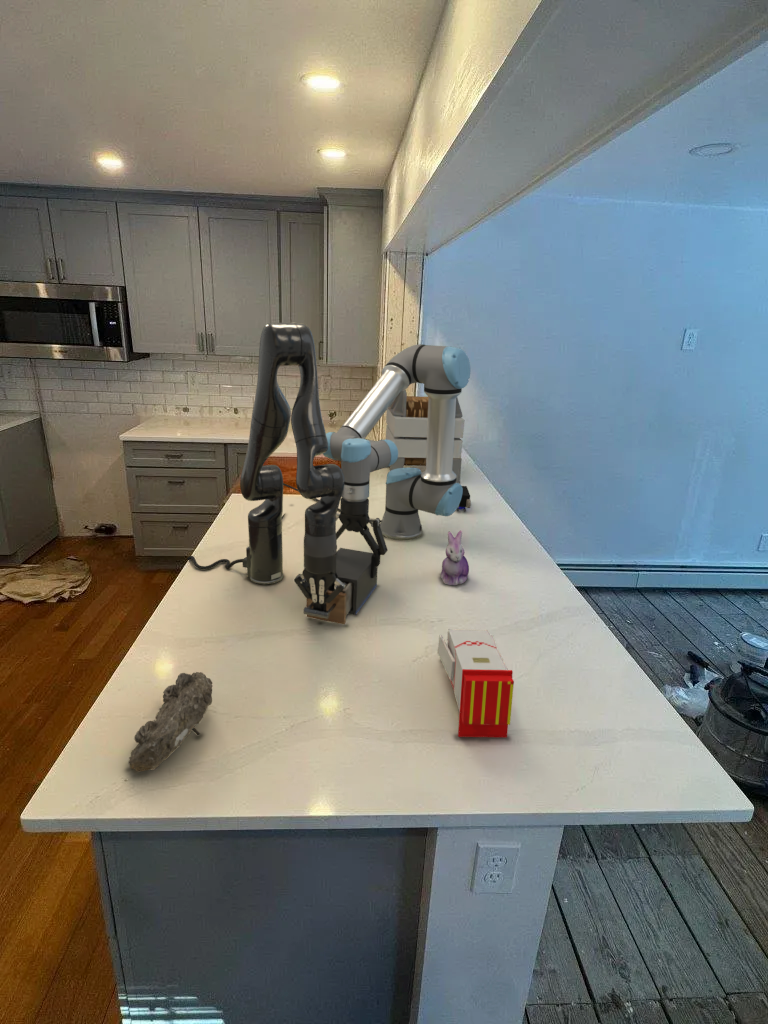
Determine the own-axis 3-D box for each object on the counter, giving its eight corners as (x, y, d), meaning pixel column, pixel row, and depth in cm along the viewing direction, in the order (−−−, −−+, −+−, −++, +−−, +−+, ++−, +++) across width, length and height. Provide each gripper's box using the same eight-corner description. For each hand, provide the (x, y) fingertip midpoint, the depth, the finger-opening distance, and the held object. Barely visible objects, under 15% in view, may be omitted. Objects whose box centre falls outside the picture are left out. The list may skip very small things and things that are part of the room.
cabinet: (356, 614, 146) (357, 580, 143) (315, 606, 149) (315, 572, 146) (376, 585, 162) (378, 553, 159) (339, 578, 165) (340, 547, 162)
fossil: (162, 673, 113) (214, 640, 108) (196, 704, 116) (248, 673, 111) (102, 765, 93) (163, 730, 88) (145, 799, 96) (206, 767, 91)
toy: (488, 613, 130) (523, 677, 101) (484, 667, 133) (517, 744, 104) (435, 612, 130) (455, 676, 101) (432, 666, 133) (451, 743, 103)
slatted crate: (382, 463, 289) (386, 382, 275) (445, 464, 293) (451, 384, 279) (390, 482, 257) (394, 392, 243) (460, 483, 261) (468, 394, 247)
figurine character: (470, 516, 223) (465, 500, 237) (473, 499, 220) (467, 484, 233) (453, 516, 223) (449, 500, 236) (455, 498, 220) (451, 483, 233)
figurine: (450, 589, 161) (455, 540, 156) (431, 574, 170) (435, 528, 165) (477, 583, 166) (482, 536, 161) (457, 569, 174) (462, 523, 169)
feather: (292, 507, 224) (294, 503, 223) (275, 531, 197) (278, 527, 197) (288, 505, 224) (291, 501, 223) (271, 528, 197) (273, 524, 197)
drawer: (334, 637, 134) (335, 607, 131) (295, 629, 137) (295, 599, 134) (365, 595, 154) (366, 568, 152) (330, 588, 157) (331, 562, 154)
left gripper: (286, 550, 129) (288, 617, 135) (341, 560, 126) (339, 627, 132) (300, 538, 136) (301, 602, 142) (352, 547, 132) (351, 612, 138)
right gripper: (307, 496, 150) (307, 570, 157) (393, 508, 143) (389, 585, 151) (319, 488, 156) (318, 560, 164) (401, 499, 150) (397, 574, 157)
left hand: (319, 614), depth 137 cm, fingers closed
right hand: (352, 572), depth 157 cm, fingers closed on cabinet, 11 cm apart
